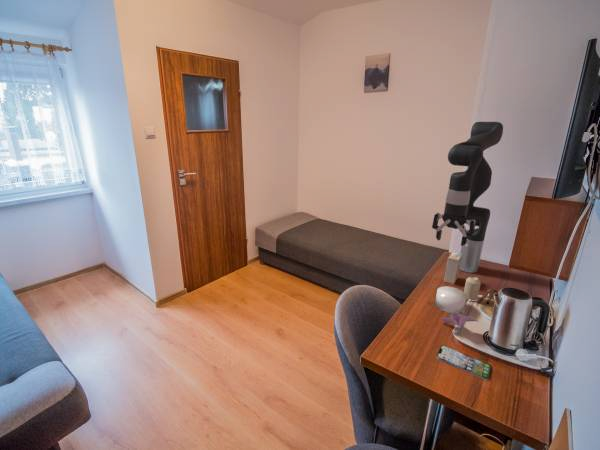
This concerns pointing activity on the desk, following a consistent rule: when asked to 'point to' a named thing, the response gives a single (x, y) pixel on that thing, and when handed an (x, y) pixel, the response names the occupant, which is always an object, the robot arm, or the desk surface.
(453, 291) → the glossy white dome
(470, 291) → the candle
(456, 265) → the supplement box
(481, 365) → the smartphone
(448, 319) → the lily
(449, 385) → the desk surface
